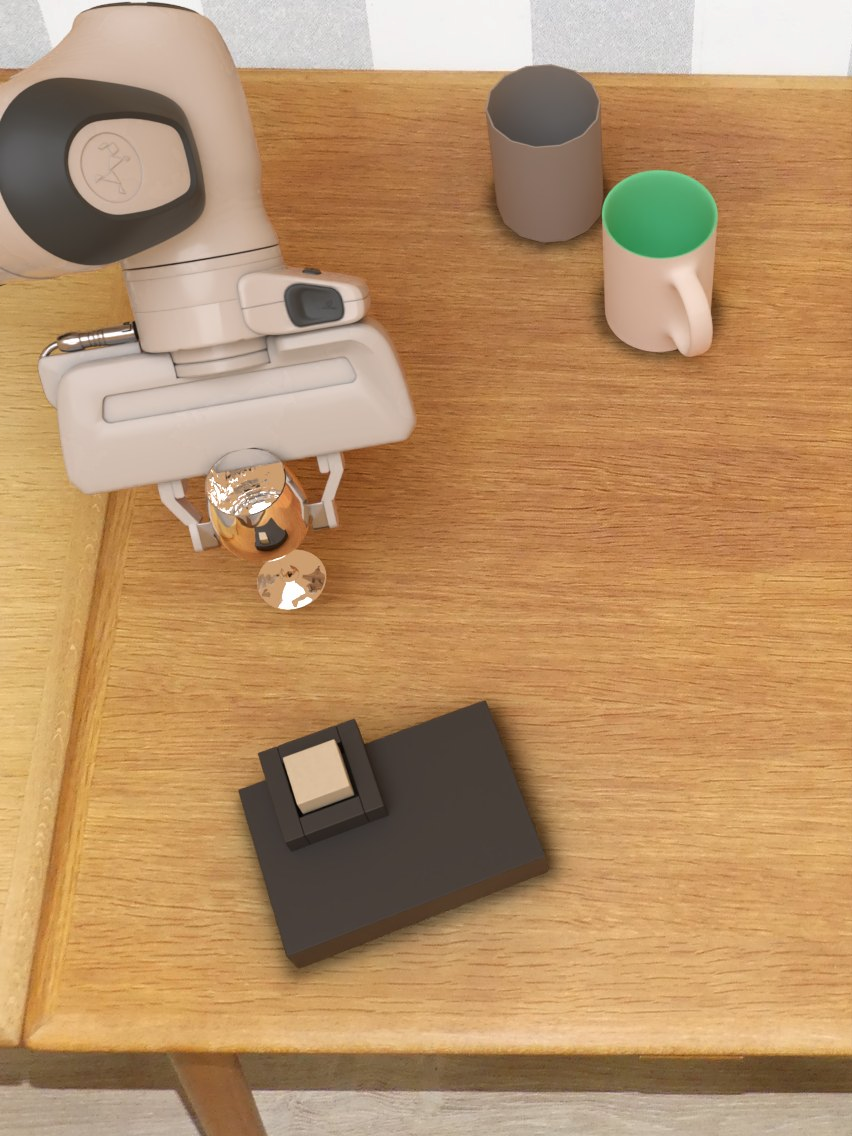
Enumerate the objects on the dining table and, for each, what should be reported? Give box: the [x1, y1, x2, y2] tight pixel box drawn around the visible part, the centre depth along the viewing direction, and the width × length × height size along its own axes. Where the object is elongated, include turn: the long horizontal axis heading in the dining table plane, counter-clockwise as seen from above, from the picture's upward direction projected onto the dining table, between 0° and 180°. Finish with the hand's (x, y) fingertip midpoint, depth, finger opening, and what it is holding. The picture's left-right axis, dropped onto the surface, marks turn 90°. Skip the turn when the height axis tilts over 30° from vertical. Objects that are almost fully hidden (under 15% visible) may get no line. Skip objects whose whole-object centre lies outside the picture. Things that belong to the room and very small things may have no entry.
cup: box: [484, 63, 604, 243], centre depth 109 cm, size 8×8×10 cm
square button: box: [283, 740, 354, 814], centre depth 86 cm, size 3×3×2 cm
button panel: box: [238, 699, 549, 970], centre depth 88 cm, size 12×16×5 cm
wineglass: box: [204, 448, 328, 612], centre depth 87 cm, size 6×6×12 cm
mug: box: [601, 169, 719, 358], centre depth 103 cm, size 12×8×10 cm
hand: (269, 537), depth 87 cm, fingers closed on wineglass, 6 cm apart
